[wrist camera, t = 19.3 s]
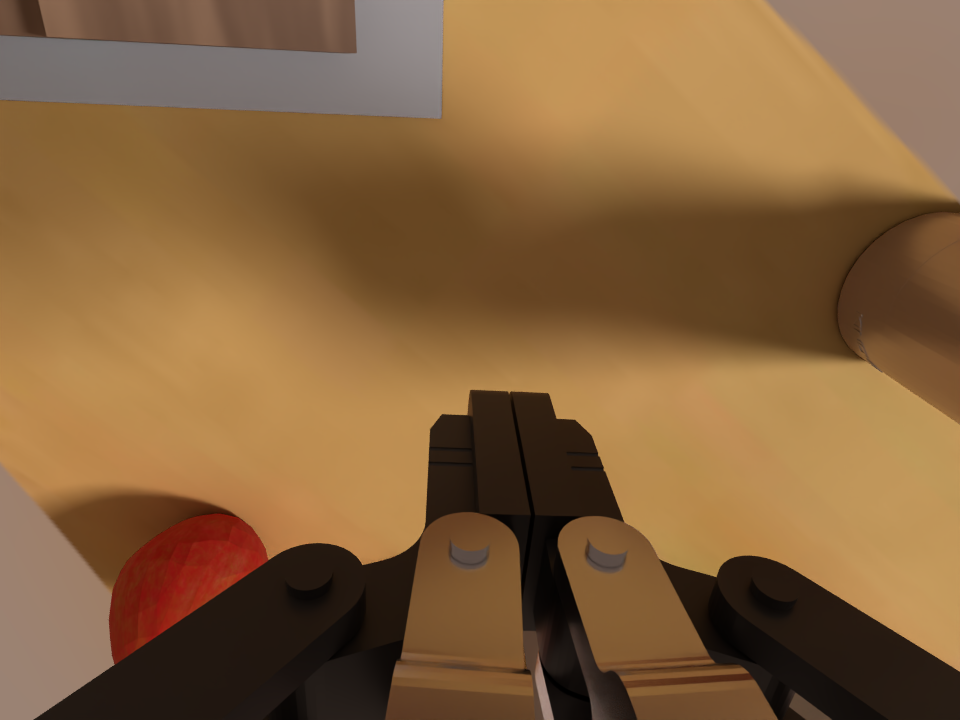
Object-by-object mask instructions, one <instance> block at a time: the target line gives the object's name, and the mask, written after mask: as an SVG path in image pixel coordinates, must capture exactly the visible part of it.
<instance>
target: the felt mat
mask: <svg viewBox="0 0 960 720" xmlns="http://www.w3.org/2000/svg"><path fill="white" fill-rule="evenodd" d="M355 21H356V45H357V53H326V52H308V51H289V50H270V49H251V48H233V47H214V46H195V45H176V44H158V43H139V42H120V41H92V40H73V39H55V38H36V37H18V36H0V100H16V101H39V102H63V103H86V104H110V105H133V106H156V107H180V108H203V109H227V110H250V111H274V112H297V113H321V114H344V115H367V116H391V117H414V118H438V119H441V116H442V54H443V0H355Z"/></svg>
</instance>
